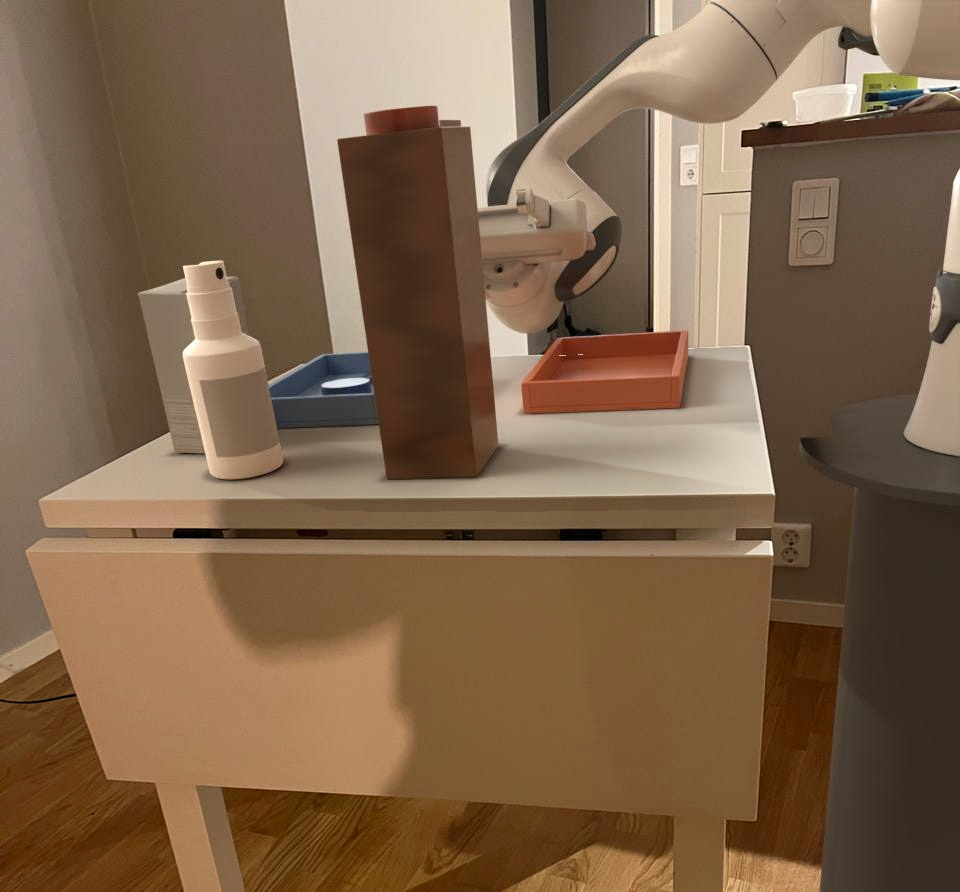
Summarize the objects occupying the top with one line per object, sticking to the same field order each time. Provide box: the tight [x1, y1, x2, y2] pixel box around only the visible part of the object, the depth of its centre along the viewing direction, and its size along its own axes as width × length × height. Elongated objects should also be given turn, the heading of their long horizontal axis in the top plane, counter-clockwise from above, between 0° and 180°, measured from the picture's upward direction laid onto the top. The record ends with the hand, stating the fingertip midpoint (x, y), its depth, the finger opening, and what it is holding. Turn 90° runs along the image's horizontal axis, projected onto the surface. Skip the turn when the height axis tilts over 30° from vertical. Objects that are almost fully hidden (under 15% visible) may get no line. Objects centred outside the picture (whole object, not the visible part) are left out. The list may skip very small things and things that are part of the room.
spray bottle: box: [182, 260, 284, 480], centre depth 85 cm, size 7×7×18 cm
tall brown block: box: [336, 125, 499, 480], centre depth 79 cm, size 8×9×26 cm
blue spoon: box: [321, 372, 372, 395], centre depth 115 cm, size 6×18×2 cm, turn 167°
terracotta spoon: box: [363, 105, 462, 136], centre depth 77 cm, size 6×18×2 cm, turn 167°
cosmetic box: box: [137, 276, 250, 454], centre depth 95 cm, size 8×7×16 cm
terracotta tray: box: [520, 329, 689, 415], centre depth 105 cm, size 16×24×3 cm, turn 167°
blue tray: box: [268, 351, 379, 429], centre depth 110 cm, size 16×24×3 cm, turn 167°
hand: (476, 201), depth 94 cm, fingers open, 8 cm apart
